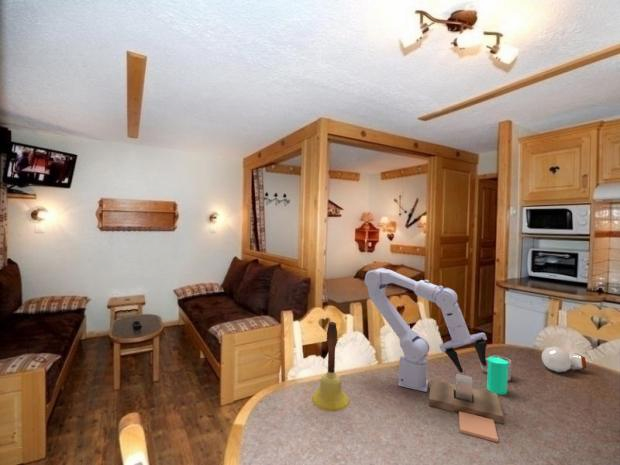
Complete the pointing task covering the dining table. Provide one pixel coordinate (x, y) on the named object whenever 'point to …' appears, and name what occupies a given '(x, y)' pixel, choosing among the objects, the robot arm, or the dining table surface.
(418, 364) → the robot arm
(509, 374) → the mug
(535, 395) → the dining table surface
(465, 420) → the terracotta tile
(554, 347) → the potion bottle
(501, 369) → the candle
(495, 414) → the wooden board with hole
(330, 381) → the handbell
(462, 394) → the steel plug
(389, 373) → the dining table surface
